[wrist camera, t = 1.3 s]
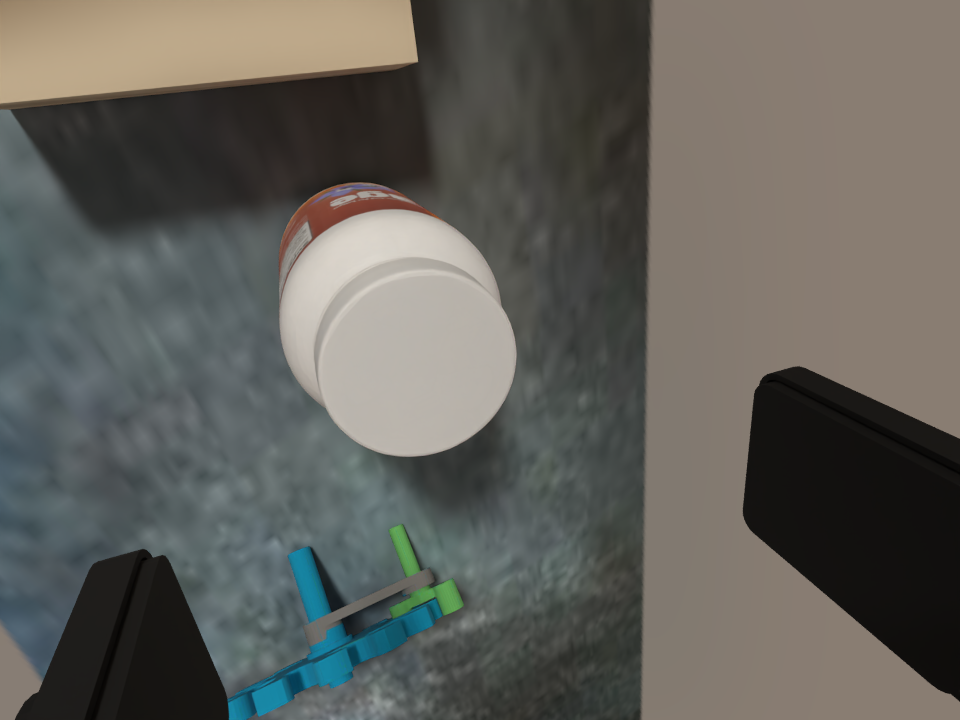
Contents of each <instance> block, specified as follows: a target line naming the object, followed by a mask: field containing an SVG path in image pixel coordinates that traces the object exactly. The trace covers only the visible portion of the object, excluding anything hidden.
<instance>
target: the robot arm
mask: <svg viewBox="0 0 960 720" xmlns="http://www.w3.org/2000/svg"><path fill="white" fill-rule="evenodd" d="M743 516H744V520H745V522H746V524H747V526H748V527H749V529H750V530H751V531H752V532H753V533H754V534H755V535H757V536H758V537H759V538H760V539H761V540H762V541H763V542H765V543H766V544H767V545H768V546H769V547H770V548H772V549H773V550H774V551H775V552H776V553H778V554H779V555H780V556H781V557H782V558H783V559H785V560H786V561H787V562H788V563H790V564H791V565H792V566H793V567H794V568H795V569H796V570H798V571H799V572H800V573H801V574H802V575H803V576H805V577H806V578H807V579H808V580H809V581H811V582H812V583H813V584H814V585H815V586H816V587H817V588H819V589H820V590H821V591H822V592H823V593H825V594H826V595H827V596H828V597H829V598H830V599H832V600H833V601H834V602H835V603H836V604H837V605H839V606H840V607H841V608H842V609H843V610H844V611H846V612H847V613H848V614H849V615H850V616H852V617H853V618H854V619H855V620H856V621H858V622H859V623H860V624H861V625H862V626H863V627H864V628H866V629H867V630H868V631H869V632H870V633H872V634H873V635H874V636H875V637H876V638H877V639H878V640H880V641H881V642H882V643H883V644H884V645H886V646H887V647H888V648H889V649H890V650H891V651H893V652H894V653H895V654H896V655H897V656H899V657H900V658H901V659H902V660H903V661H904V662H906V663H907V664H908V665H909V666H910V667H911V668H913V669H914V670H915V671H916V672H917V673H918V674H920V675H921V676H922V677H923V678H924V679H926V680H927V681H928V682H929V683H930V684H931V685H933V686H934V687H936V688H937V689H938V690H940V691H943V692H945V693H948V694H952V695H953V696H954V697H955V698H956V699H958V700H959V701H960V439H959V438H957V437H955V436H952V435H950V434H948V433H946V432H944V431H941V430H939V429H937V428H935V427H933V426H930V425H928V424H926V423H924V422H922V421H919V420H917V419H915V418H913V417H911V416H909V415H906V414H904V413H902V412H900V411H898V410H896V409H893V408H891V407H889V406H887V405H885V404H882V403H880V402H878V401H876V400H874V399H872V398H869V397H867V396H865V395H863V394H861V393H858V392H856V391H854V390H852V389H850V388H847V387H845V386H843V385H841V384H839V383H836V382H834V381H832V380H830V379H828V378H825V377H823V376H821V375H819V374H817V373H815V372H813V371H810V370H808V369H806V368H803V367H792V368H788V369H784V370H781V371H777V372H774V373H770V374H767V375H766V376H764V377H763V378H762V380H761V381H760V384H759V386H758V387H757V389H756V390H755V393H754V402H753V411H752V422H751V431H750V442H749V452H748V463H747V473H746V483H745V493H744V503H743ZM15 720H229V707H228V700H227V696H226V692H225V689H224V687H223V685H222V682H221V680H220V678H219V675H218V673H217V671H216V668H215V666H214V664H213V661H212V659H211V657H210V654H209V652H208V650H207V648H206V645H205V643H204V641H203V638H202V636H201V634H200V631H199V629H198V627H197V624H196V622H195V620H194V617H193V615H192V613H191V610H190V608H189V606H188V604H187V601H186V599H185V597H184V594H183V592H182V590H181V587H180V585H179V583H178V580H177V578H176V576H175V573H174V571H173V569H172V566H171V564H170V562H169V560H168V559H167V558H166V556H164V555H161V556H157V557H154V558H153V557H152V555H151V554H150V553H149V552H148V551H147V550H145V549H141V550H137V551H134V552H130V553H127V554H123V555H120V556H116V557H112V558H109V559H105V560H102V561H98V562H96V563H94V564H93V565H92V567H91V568H90V570H89V572H88V575H87V577H86V579H85V582H84V584H83V587H82V589H81V591H80V594H79V596H78V598H77V601H76V603H75V606H74V608H73V610H72V613H71V615H70V618H69V620H68V622H67V625H66V627H65V630H64V632H63V634H62V637H61V639H60V642H59V644H58V646H57V649H56V651H55V654H54V656H53V658H52V661H51V663H50V666H49V668H48V670H47V673H46V675H45V678H44V680H43V682H42V685H41V687H40V690H39V692H38V693H35V694H33V695H32V696H31V697H30V698H29V699H28V700H27V701H25V702H24V704H23V706H22V707H21V709H20V711H19V713H18V714H17V716H16V718H15Z"/></svg>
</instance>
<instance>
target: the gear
mask: <svg viewBox="0 0 960 720" xmlns="http://www.w3.org/2000/svg"><path fill="white" fill-rule="evenodd" d="M388 531H389V533H390V536H391V538H392V541H393V544H394V546H395V549H396V552H397V554H398V557H399V559H400V562H401V565H402V567H403V570H404V573H405V575H406V578H405V579H403V580H401V581H399V582H396V583H394V584H392V585H390V586H388V587H386V588H383V589H381V590H379V591H377V592H375V593H373V594H371V595H368V596H366V597H364V598H362V599H360V600H358V601H356V602H353V603H351V604H349V605H347V606H345V607H343V608H340V609H338V610H336V611H334V612H332V611H331V608H330V605H329V602H328V599H327V596H326V594H325V591H324V588H323V585H322V582H321V579H320V576H319V573H318V570H317V567H316V564H315V561H314V558H313V555H312V552H311V549H310V547H305V548H302V549H300V550H297V551H295V552H293V553H291V554H289V555H288V558H289V561H290V564H291V567H292V570H293V573H294V577H295V580H296V583H297V586H298V589H299V592H300V595H301V598H302V601H303V604H304V608H305V611H306V614H307V617H308V620H309V623H308V624H306V625H304V626H303V629H304V632H305V635H306V638H307V641H308V645H309V648H310V651H311V653H310V654H308V655H307V658H305V659H303V660H300V661H298V662H296V663H293V664H291V665H289V666H287V667H285V668H283V669H281V670H280V671H278V672H276V673H274V675H272V676H270V677H268V678H266V679H264V680H262V681H259V682H257V683H255V684H253V685H251V686H249V687H247V688H245V689H243V690H241V691H239V692H238V693H236V695H235V696H233V697H231V698H229V699H227V700H228V707H229V720H246V719H248V718H250V717H251V716H253V715H254V714H255V713H256V712H257V714H258V717H259V716H261V715H263V714H265V713H268V712H270V711H272V710H274V709H276V708H278V707H280V706H282V705H284V704H286V703H288V702H289V701H291V700H293V699H294V698H295V697H294V695H295V694H297V693H299V692H301V691H303V690H305V689H307V688H309V687H311V686H314V685H317V684H318V685H319V687H322V686H324V685H327V684H328V683H329V685H330V688H334V687H336V686H338V685H340V684H342V683H344V682H346V681H348V680H350V679H351V678H353V674H352V671H353V670H354V668H353V667H354V666H356V665H358V664H359V663H361V662H363V661H366V660H368V659H371V658H373V657H376V656H380V655H382V654H385V653H387V652H389V651H391V650H393V649H395V648H396V647H398V646H400V645H401V644H403V643H404V642H406V641H407V637H410V636H412V635H414V634H416V633H419V632H421V631H423V630H425V629H427V628H429V627H431V626H433V625H434V624H435V623H436V622H435V620H436V619H438V618H440V617H442V616H443V615H447V614H449V613H452V612H454V611H456V610H458V609H460V608H461V607H463V606H464V604H463V601H462V599H461V597H460V594H459V592H458V589H457V587H456V584H455V582H454V579H453V578H452V579H450V580H447V581H445V582H443V583H441V584H439V585H437V586H435V587H433V588H430V585H429V584H431V583H433V582H435V580H434V577H433V574H432V572H431V569H430V567H429V568H427V569H424V570H422V571H421V570H420V568H419V565H418V562H417V560H416V557H415V555H414V552H413V550H412V547H411V544H410V542H409V539H408V537H407V534H406V532H405V529H404V526H403V524H401V525H398V526H396V527H393V528H391V529H390V530H388ZM399 591H401V592H402V595H403V596H406V595H408V594H410V597H411V598H409V599H407V600H405V601H402V602H400V603H398V604H396V605H394V606H392V607H390V608H389V610H390V613H391V615H392V618H391V619H389V620H387V619H385V620H382V621H380V622H378V623H376V624H374V625H372V626H370V627H368V628H366V629H364V630H363V632H361V633H359V634H356V635H354V636H352V634H349V635H347V633H346V630H345V627H344V624H343V621H342V618H344V617H346V616H348V615H350V614H353V613H355V612H357V611H359V610H361V609H363V608H365V607H367V606H369V605H372V604H374V603H376V602H378V601H380V600H382V599H384V598H386V597H389V596H391V595H393V594H395V593H397V592H399ZM434 597H436V598H437V599H433V600H430V599H432V598H434ZM427 600H430V601H428V602H426V603H423V602H425V601H427ZM437 600H438V602H437ZM421 603H423V604H421ZM438 603H439V605H440V607H439V605H438ZM420 604H421V605H420ZM440 608H441V610H442V612H441V610H440ZM442 613H443V615H442Z"/></svg>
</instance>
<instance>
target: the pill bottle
mask: <svg viewBox="0 0 960 720" xmlns="http://www.w3.org/2000/svg"><path fill="white" fill-rule="evenodd" d="M279 297H280V306H279V322H280V333H281V341H282V346H283V350H284V353H285V357H286V359H287V362H288V364H289V366H290V368H291V370H292V372H293V374H294V376H295V377H296V379H297V381H298V382H299V383H300V385H301V386H302V387H303V389H304V390H305V391H306V392H307V393H308V394H309V395H310V396H311V397H312V398H313V399H314V400H316V401H317V402H318V403H319V404H320V405H322V406H323V407H325V408H326V409H327V411H328V413H329V415H330V416H331V418H332V419H333V421H334V422H335V423H336V424H337V426H338V427H339V428H340V429H341V430H342V431H343V432H344V433H345V434H346V435H347V436H349V437H350V438H351V439H353V440H354V441H356V442H357V443H359V444H360V445H362V446H364V447H366V448H368V449H371V450H373V451H376V452H379V453H382V454H386V455H392V456H400V457H414V456H425V455H430V454H435V453H439V452H442V451H445V450H447V449H450V448H452V447H454V446H457V445H458V444H460V443H462V442H464V441H466V440H467V439H469V438H470V437H472V436H473V435H474V434H476V433H477V432H478V431H480V430H481V429H482V428H483V427H484V426H485V425H486V424H487V423H488V422H489V421H490V420H491V419H492V418H493V416H494V415H495V414H496V413H497V411H498V410H499V408H500V407H501V405H502V404H503V402H504V400H505V399H506V397H507V394H508V392H509V390H510V387H511V385H512V381H513V378H514V373H515V367H516V356H517V353H516V344H515V337H514V333H513V330H512V327H511V324H510V322H509V319H508V317H507V315H506V313H505V312H504V310H503V308H502V307H501V300H500V294H499V290H498V286H497V283H496V280H495V277H494V275H493V273H492V271H491V269H490V267H489V266H488V264H487V262H486V260H485V259H484V257H483V256H482V255H481V253H480V252H479V251H478V249H477V248H476V247H475V246H474V245H473V244H472V243H471V242H470V241H469V240H468V239H467V238H466V237H465V236H464V235H462V234H461V233H460V232H459V231H458V230H456V229H455V228H454V227H452V226H451V225H449V224H448V223H446V222H445V221H443V220H441V219H440V218H439V217H437V216H435V215H434V214H433V213H431V212H429V211H428V210H426V209H425V208H423V207H421V206H420V205H418V204H417V203H415V202H414V201H412V200H411V199H409V198H408V197H406V196H405V195H403V194H401V193H399V192H397V191H395V190H393V189H390V188H388V187H385V186H382V185H378V184H373V183H362V182H359V183H346V184H340V185H336V186H333V187H330V188H328V189H325V190H323V191H321V192H319V193H317V194H316V195H314V196H313V197H311V198H310V199H309V200H307V201H306V202H305V203H304V204H303V205H302V206H301V207H300V208H299V209H298V210H297V211H296V213H295V214H294V215H293V217H292V218H291V220H290V222H289V223H288V225H287V227H286V230H285V232H284V235H283V238H282V241H281V246H280V252H279Z"/></svg>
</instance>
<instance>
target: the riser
mask: <svg viewBox="0 0 960 720" xmlns="http://www.w3.org/2000/svg"><path fill="white" fill-rule="evenodd" d="M417 62H418V57H417V49H416V41H415V34H414V26H413V19H412V11H411V4H410V0H0V109H4V110H10V109H19V108H29V107H39V106H49V105H58V104H68V103H78V102H88V101H98V100H107V99H117V98H127V97H137V96H147V95H156V94H166V93H176V92H186V91H196V90H205V89H215V88H225V87H235V86H244V85H254V84H264V83H274V82H284V81H293V80H303V79H313V78H323V77H333V76H342V75H352V74H362V73H372V72H382V71H391V70H396V69H399V68H402V67H405V66H408V65H411V64H414V63H417Z"/></svg>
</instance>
